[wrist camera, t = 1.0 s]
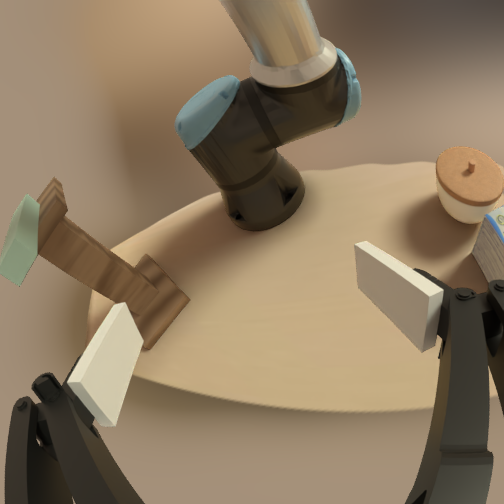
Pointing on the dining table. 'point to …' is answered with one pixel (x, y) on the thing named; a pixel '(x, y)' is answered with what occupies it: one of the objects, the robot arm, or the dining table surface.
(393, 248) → the dining table surface
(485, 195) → the lidded jar
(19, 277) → the sage bar
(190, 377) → the dining table surface
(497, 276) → the medicine box
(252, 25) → the robot arm
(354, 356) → the dining table surface
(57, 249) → the walnut stand
